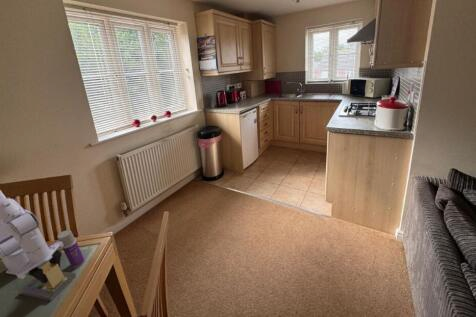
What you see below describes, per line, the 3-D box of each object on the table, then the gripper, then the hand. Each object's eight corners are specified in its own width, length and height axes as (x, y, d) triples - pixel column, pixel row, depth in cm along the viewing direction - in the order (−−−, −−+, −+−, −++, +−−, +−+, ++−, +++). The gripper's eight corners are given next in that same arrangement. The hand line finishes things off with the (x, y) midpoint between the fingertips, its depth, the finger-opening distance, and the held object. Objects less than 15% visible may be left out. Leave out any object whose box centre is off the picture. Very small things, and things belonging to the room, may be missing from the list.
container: (78, 268, 93) (64, 238, 87) (68, 267, 94) (53, 237, 88) (87, 259, 97) (74, 230, 91) (78, 258, 98) (64, 229, 92)
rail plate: (20, 294, 84) (18, 290, 83) (47, 271, 93) (45, 267, 92) (51, 301, 80) (49, 297, 80) (76, 276, 89) (74, 273, 89)
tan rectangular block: (43, 286, 83) (35, 272, 81) (55, 275, 87) (48, 261, 85) (53, 288, 82) (45, 274, 80) (64, 277, 86) (57, 263, 83)
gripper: (20, 265, 71) (39, 296, 76) (63, 233, 84) (77, 261, 89) (4, 262, 73) (23, 293, 78) (48, 231, 86) (63, 259, 91)
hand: (51, 276), depth 84 cm, fingers closed on tan rectangular block, 4 cm apart
